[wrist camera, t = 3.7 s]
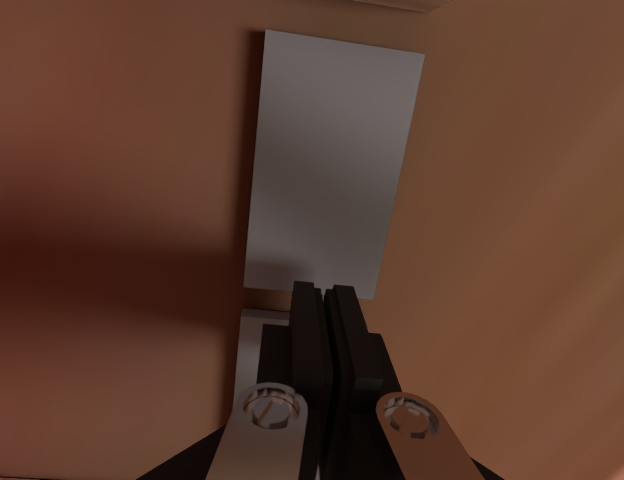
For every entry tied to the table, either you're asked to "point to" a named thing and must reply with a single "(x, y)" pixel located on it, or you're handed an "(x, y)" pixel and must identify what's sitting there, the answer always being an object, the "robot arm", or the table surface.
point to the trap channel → (324, 169)
